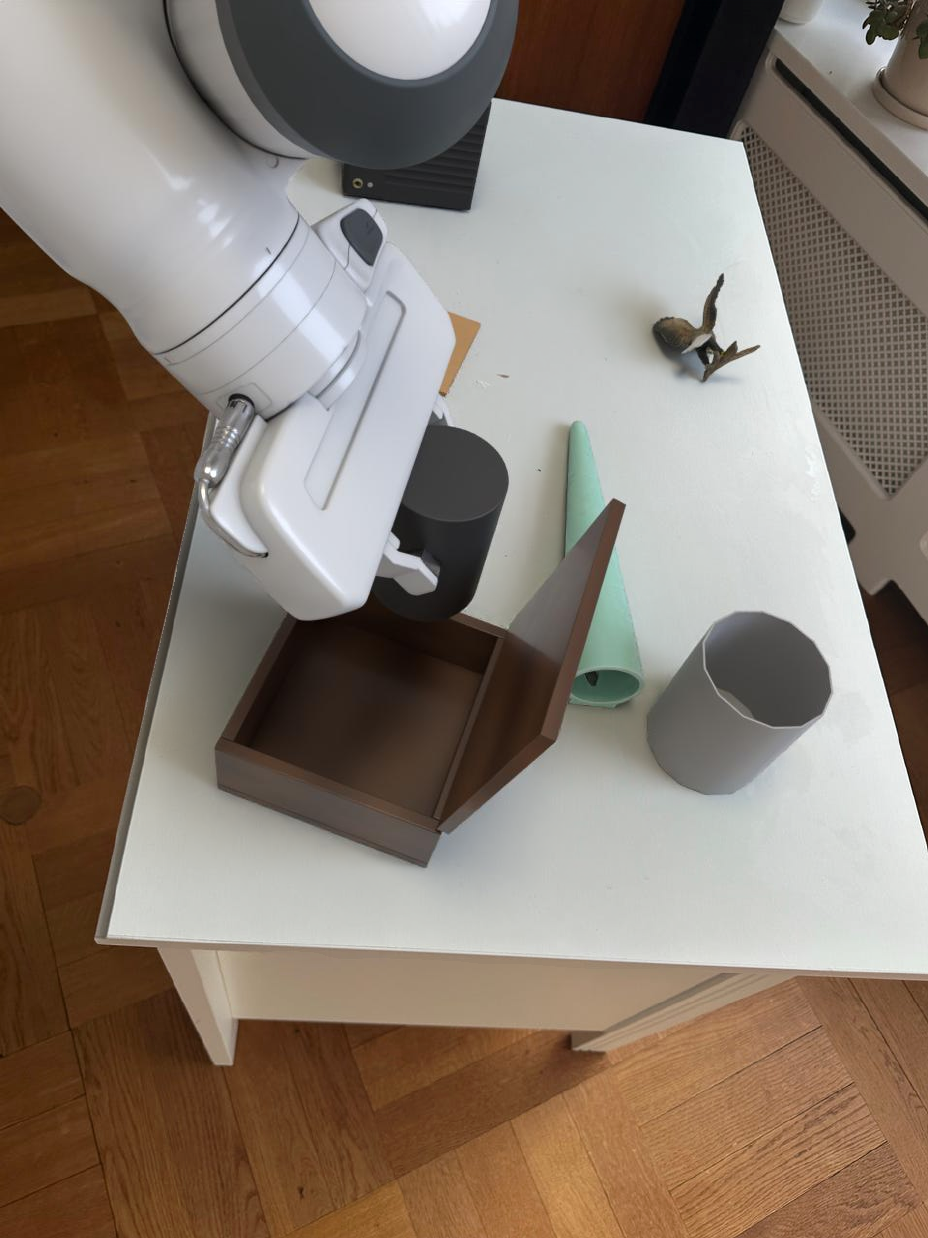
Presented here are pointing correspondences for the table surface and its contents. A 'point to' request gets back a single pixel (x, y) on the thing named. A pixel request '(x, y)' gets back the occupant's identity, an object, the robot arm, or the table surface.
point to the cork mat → (459, 347)
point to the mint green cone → (612, 622)
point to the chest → (361, 723)
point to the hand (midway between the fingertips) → (446, 526)
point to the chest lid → (533, 673)
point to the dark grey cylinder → (447, 520)
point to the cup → (738, 702)
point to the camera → (426, 175)
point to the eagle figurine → (702, 335)
